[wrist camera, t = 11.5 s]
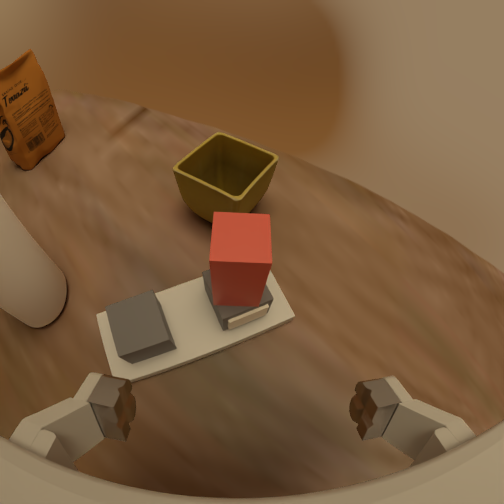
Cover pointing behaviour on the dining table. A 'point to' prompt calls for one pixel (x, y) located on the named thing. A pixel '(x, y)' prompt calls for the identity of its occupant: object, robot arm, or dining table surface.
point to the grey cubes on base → (182, 326)
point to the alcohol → (27, 275)
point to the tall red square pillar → (240, 258)
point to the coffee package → (27, 112)
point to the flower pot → (224, 176)
